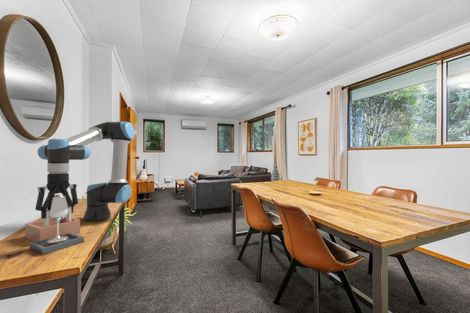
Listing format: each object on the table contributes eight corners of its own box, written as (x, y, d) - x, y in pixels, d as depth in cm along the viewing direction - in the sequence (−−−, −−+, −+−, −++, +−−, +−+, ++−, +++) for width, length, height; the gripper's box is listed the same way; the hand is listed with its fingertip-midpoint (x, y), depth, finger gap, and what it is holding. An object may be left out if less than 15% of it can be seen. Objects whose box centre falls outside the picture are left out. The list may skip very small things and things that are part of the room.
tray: (69, 237, 104) (69, 232, 104) (83, 242, 98) (83, 236, 98) (29, 248, 90) (29, 243, 90) (42, 255, 84) (42, 249, 84)
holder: (64, 228, 117) (64, 215, 117) (80, 233, 110) (80, 219, 110) (25, 237, 103) (25, 223, 103) (39, 244, 95) (40, 228, 95)
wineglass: (72, 237, 96) (73, 194, 97) (53, 244, 89) (53, 197, 89) (61, 235, 99) (61, 193, 99) (41, 242, 92) (42, 196, 92)
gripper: (79, 171, 105) (79, 216, 105) (24, 174, 87) (23, 228, 87) (87, 171, 102) (87, 218, 101) (31, 174, 84) (31, 231, 83)
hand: (58, 222), depth 94 cm, fingers closed on wineglass, 8 cm apart
